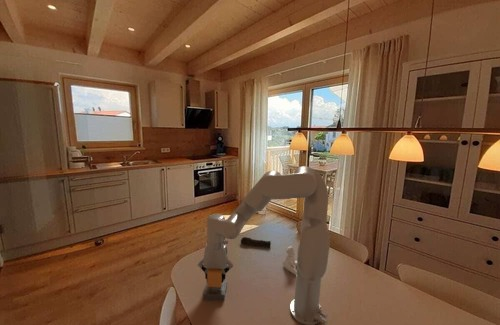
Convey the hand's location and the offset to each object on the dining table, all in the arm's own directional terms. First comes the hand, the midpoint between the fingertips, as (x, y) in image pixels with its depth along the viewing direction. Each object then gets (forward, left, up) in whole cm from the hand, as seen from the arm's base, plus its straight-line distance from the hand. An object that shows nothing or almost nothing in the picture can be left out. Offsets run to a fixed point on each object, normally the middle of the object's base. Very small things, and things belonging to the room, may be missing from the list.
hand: (215, 279), depth 94 cm
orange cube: (0, 0, -1) cm, 1 cm away
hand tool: (+14, -40, -7) cm, 43 cm away
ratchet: (+7, -7, -6) cm, 12 cm away
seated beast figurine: (-13, -39, -6) cm, 42 cm away
